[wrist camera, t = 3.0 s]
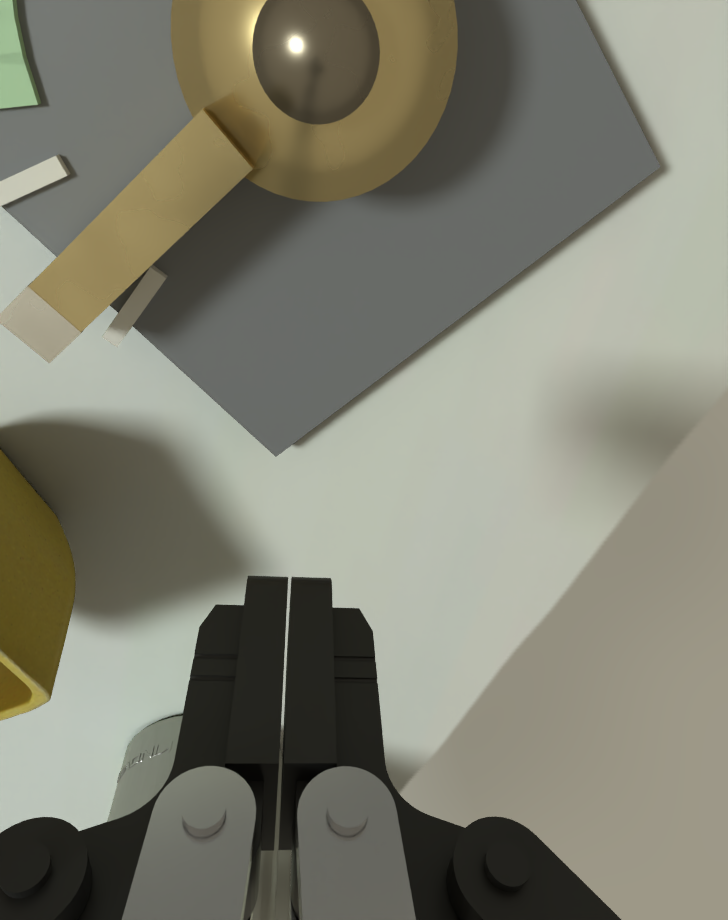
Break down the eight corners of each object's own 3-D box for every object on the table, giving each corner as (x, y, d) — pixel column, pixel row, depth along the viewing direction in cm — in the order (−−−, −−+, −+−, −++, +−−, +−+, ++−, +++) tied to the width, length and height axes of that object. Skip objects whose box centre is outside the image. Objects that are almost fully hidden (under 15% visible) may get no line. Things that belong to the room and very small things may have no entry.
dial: (328, -188, 16) (333, -242, 13) (484, 68, 19) (519, 77, 16) (-33, 218, 21) (-98, 254, 18) (141, 371, 24) (113, 427, 21)
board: (645, 160, 22) (664, 168, 21) (260, 454, 28) (257, 474, 27) (175, -748, 13) (160, -831, 12) (-272, -26, 18) (-315, -29, 17)
